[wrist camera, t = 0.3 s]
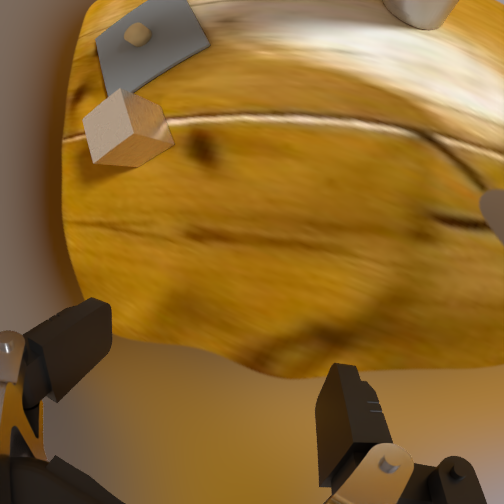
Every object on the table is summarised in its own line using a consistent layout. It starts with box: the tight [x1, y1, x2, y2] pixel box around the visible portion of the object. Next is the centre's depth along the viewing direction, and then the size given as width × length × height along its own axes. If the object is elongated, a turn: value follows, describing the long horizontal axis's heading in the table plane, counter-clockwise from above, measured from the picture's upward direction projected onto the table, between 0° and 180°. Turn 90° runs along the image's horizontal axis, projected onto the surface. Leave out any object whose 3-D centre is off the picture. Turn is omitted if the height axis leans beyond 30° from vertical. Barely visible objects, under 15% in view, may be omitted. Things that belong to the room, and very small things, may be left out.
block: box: [82, 88, 175, 167], centre depth 28 cm, size 6×6×8 cm
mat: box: [95, 0, 211, 97], centre depth 28 cm, size 16×16×3 cm
